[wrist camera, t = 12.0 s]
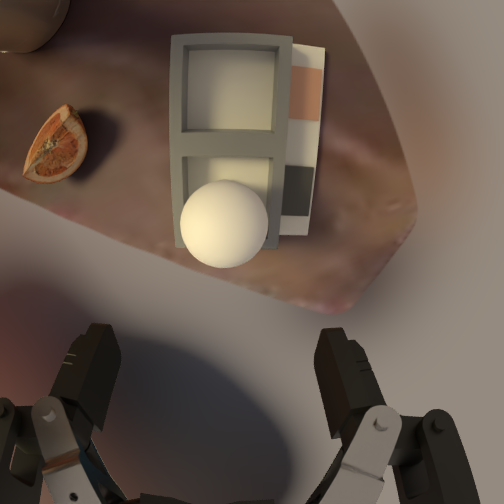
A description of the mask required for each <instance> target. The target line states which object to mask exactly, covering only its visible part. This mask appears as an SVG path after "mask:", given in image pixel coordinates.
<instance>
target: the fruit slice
mask: <svg viewBox="0 0 504 504" xmlns="http://www.w3.org/2000/svg"><path fill="white" fill-rule="evenodd" d="M77 113H78V111H77V110H76V111H75V110H74V108H73V107H72V106H70V105H68V104H65V105H63V106H61V107H60V108H59V109H58V110H56V111H55V112H54V113H53V114H52V115H51V116H50V117H49V118H48V120H47V121H46V122H45V123H44V125H43V126H42V128H41V129H40V131H39V132H38V134H37V136H36V138H35V140H34V142H33V144H32V146H31V147H30V150H29V152H28V155H27V158H26V161H25V165H24V169H23V177H25V178H26V179H28V180H31V181H33V182H36V183H43V184H44V183H46V184H49V183H55V182H58V181H61V180H63V179H65V178H66V177H68V176H70V175H71V174H72V173H74V172H75V171H76V170H77V168H78V167H79V166H80V165H81V163H82V161H83V160H84V158H85V155H86V152H87V147H88V140H87V135H86V131H85V128H84V125H83V123H82V121H81V119H80V117H79V115H78V114H77Z"/></svg>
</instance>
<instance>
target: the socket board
mask: <svg viewBox="0 0 504 504" xmlns="http://www.w3.org/2000/svg"><path fill="white" fill-rule="evenodd" d="M324 58H325V48H320V47H314V46H307V45H299V44H293V36H284V35H273V34H258V33H193V34H179V35H171V52H170V80H169V142H170V172H171V192H172V208H173V222H174V234H175V246H176V248H187V247H186V245H185V243H184V241H183V238H182V235H181V227H180V220H181V214H182V211H183V208H184V205H185V203H186V202H187V200H188V198H189V197H190V196H191V195H192V194H193V193H194V192H195V191H196V190H198V189H199V188H201V187H202V186H204V185H206V184H208V183H211V182H215V181H219V180H222V179H227V180H230V181H234V182H238V183H240V184H243V185H245V186H246V187H248V188H249V189H251V190H252V191H253V192H255V193H256V194H257V195H258V196H259V198H260V199H261V201H262V202H263V204H264V207H265V209H266V212H267V217H268V231H267V235H266V239H265V241H264V243H263V245H262V247H261V249H278V243H279V235H308V228H309V220H310V213H311V205H312V197H313V188H314V180H315V171H316V161H317V151H318V141H319V130H320V119H321V106H322V92H323V76H324Z"/></svg>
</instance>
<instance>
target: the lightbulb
mask: <svg viewBox="0 0 504 504" xmlns="http://www.w3.org/2000/svg"><path fill="white" fill-rule="evenodd" d="M180 227H181V235H182V238H183V241H184V243H185V245H186V247H187V248H188V250H189V251H190V253H191V254H192V255H193V256H194V257H195V258H197V259H198V260H199V261H201V262H203V263H205V264H206V265H210V266H213V267H218V268H230V267H235V266H239V265H241V264H244V263H245V262H247V261H249V260H250V259H252V258H253V257H254V256H255V255H256V254H257V253H258V251H259V250H260V249H261V247H262V245H263V243H264V241H265V239H266V235H267V231H268V217H267V212H266V209H265V207H264V204H263V202H262V201H261V199H260V198H259V196H258V195H257V194H256V193H255V192H253V191H252V190H251V189H249V188H248V187H246V186H245V185H243V184H240V183H238V182H234V181H230V180H227V179H222V180H219V181H215V182H211V183H208V184H206V185H204V186H202V187H201V188H199V189H198V190H196V191H195V192H194V193H193V194H192V195H191V196H190V197H189V198H188V200H187V202H186V203H185V205H184V208H183V211H182V214H181V220H180Z"/></svg>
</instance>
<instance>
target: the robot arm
mask: <svg viewBox="0 0 504 504" xmlns="http://www.w3.org/2000/svg"><path fill="white" fill-rule="evenodd" d="M69 5H70V0H0V52H16V53H27V52H31V51H34V50H36V49H38V48H39V47H41V46H43V45H44V44H45V43H46V42H47V41H49V40H50V38H51V37H52V36H53V35H54V34H55V33H56V31H57V30H58V29H59V27H60V26H61V24H62V22H63V21H64V19H65V17H66V14H67V12H68V9H69ZM121 357H122V356H121V350H120V347H119V345H118V342H117V339H116V337H115V334H114V331H113V328H112V326H111V325H110V324H101V323H92V324H91V325H90V326H89V328H88V330H87V332H86V334H85V335H80V336H79V337H78V338H77V339H76V340H75V341H74V342H73V343H72V344H71V347H70V349H69V351H68V353H67V355H66V357H65V359H64V364H62V366H61V368H60V371H59V373H58V375H57V378H56V380H55V383H54V385H53V387H52V389H51V392H50V394H49V395H48V396H45V397H42V398H40V399H39V400H37V401H36V403H35V404H34V405H33V406H15V405H14V404H13V403H12V402H11V401H10V400H9V399H7V398H0V504H39V502H40V495H41V488H42V482H43V477H44V480H45V482H46V485H47V487H48V489H49V492H50V494H51V497H52V499H53V501H54V503H55V504H190V503H187V502H184V501H181V500H177V499H175V498H171V497H163V496H156V495H150V494H144V493H141V494H140V498H136V499H131V500H128V499H127V498H126V496H125V494H124V493H123V491H122V490H121V489H120V487H119V486H118V485H117V484H116V483H115V481H114V480H113V479H112V477H111V476H110V474H109V472H108V470H107V468H106V467H105V465H104V463H103V461H102V459H101V457H100V455H99V453H98V451H97V449H96V447H95V445H94V443H93V441H92V439H91V434H92V430H93V431H98V432H102V430H103V426H104V422H105V419H106V415H107V411H108V407H109V403H110V400H111V396H112V393H113V389H114V386H115V382H116V379H117V376H118V372H119V369H120V366H121V359H122V358H121ZM314 369H315V373H316V377H317V381H318V385H319V389H320V393H321V397H322V401H323V405H324V409H325V414H326V418H327V422H328V426H329V431H330V435H331V439H336V438H341V441H342V446H341V448H340V450H339V451H338V453H337V455H336V457H335V459H334V460H333V462H332V464H331V466H330V467H329V469H328V471H327V473H326V474H325V476H324V477H323V479H322V481H321V482H320V484H319V485H318V486H317V488H316V489H315V490H314V492H313V493H312V494H311V496H310V497H309V499H308V500H307V501H306V503H305V504H376V502H377V500H378V498H379V496H380V493H381V491H382V489H383V486H384V480H383V474H384V471H385V469H386V467H387V465H392V468H393V473H394V477H395V481H396V486H397V491H398V496H399V501H400V504H480V500H479V496H478V492H477V489H476V485H475V482H474V479H473V475H472V472H471V468H470V465H469V462H468V459H467V456H466V453H465V450H464V447H463V445H462V442H461V439H460V436H459V434H458V431H457V428H456V426H455V423H454V421H453V419H452V417H451V416H450V415H449V414H448V413H447V412H446V411H444V410H440V409H434V410H431V411H429V412H428V413H427V414H426V415H425V416H424V417H413V416H402V415H399V414H398V413H397V412H396V411H395V410H394V409H393V408H391V407H388V406H387V405H386V403H385V401H384V398H383V395H382V394H381V390H380V388H379V385H378V383H377V380H376V378H375V375H374V373H373V371H372V368H371V365H370V363H369V362H368V358H367V356H366V354H365V351H364V349H363V348H362V347H361V346H360V345H359V344H358V343H357V342H356V341H355V340H348V339H347V337H346V334H345V332H344V330H343V328H341V327H340V328H324V329H322V330H321V333H320V336H319V340H318V344H317V347H316V350H315V354H314ZM15 445H16V449H15V453H14V457H13V461H12V465H11V470H10V469H9V467H10V462H11V458H12V454H13V450H14V446H15ZM230 504H274V500H273V499H272V500H257V501H238V502H234V503H230Z"/></svg>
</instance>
